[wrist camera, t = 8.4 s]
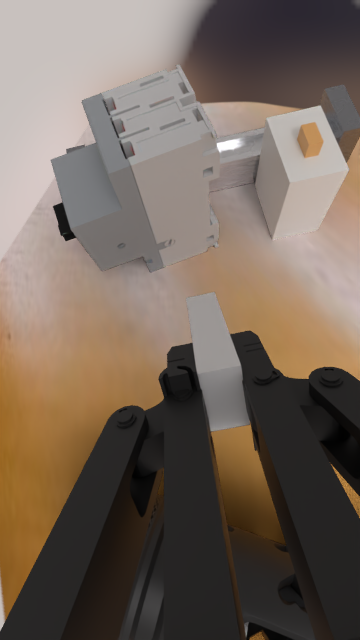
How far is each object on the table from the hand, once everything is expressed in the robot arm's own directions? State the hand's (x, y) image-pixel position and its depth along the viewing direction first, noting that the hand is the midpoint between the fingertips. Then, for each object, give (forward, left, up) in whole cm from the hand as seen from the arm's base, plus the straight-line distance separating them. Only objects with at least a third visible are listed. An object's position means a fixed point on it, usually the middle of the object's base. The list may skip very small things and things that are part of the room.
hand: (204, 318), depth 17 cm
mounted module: (-12, -16, -16) cm, 26 cm away
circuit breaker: (+4, -16, -16) cm, 23 cm away
